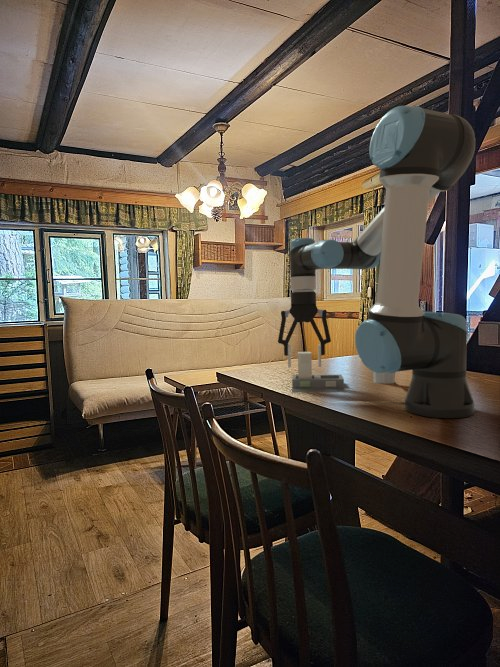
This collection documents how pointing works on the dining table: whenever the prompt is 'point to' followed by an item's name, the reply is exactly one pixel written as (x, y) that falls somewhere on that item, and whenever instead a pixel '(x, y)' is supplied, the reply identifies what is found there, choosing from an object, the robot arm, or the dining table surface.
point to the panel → (318, 384)
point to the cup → (383, 378)
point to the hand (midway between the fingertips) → (304, 366)
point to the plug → (304, 365)
